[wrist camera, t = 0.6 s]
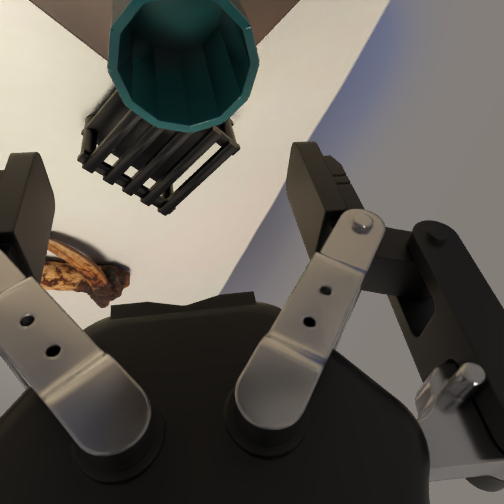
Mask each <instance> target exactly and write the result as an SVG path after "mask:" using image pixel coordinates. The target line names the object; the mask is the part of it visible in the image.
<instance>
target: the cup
mask: <svg viewBox="0 0 504 504" xmlns="http://www.w3.org/2000/svg"><path fill="white" fill-rule="evenodd" d="M258 67H259V57H258V53H257V48H256V44H255V39H254V34H253V30H252V26H251V24H250V21H249V19H248V17H247V15H246V13H245V11H244V9H243V6H242V4H241V2H240V0H113V5H112V15H111V24H110V35H109V50H108V64H107V69H108V73H109V75H110V77H111V79H112V81H113V83H114V85H115V87H116V89H117V91H118V93H119V95H120V97H121V99H122V101H123V103H124V104H126V107H128V108H129V109H131V110H132V111H133V112H135V113H136V114H137V115H139V116H140V117H142V118H143V119H144V120H146V121H147V122H149V123H150V124H151V125H153V126H154V127H155V126H156V127H157V128H162V129H168V130H174V131H180V132H186V133H190V131H191V133H193V132H196V131H200V130H203V129H206V128H210V127H213V126H216V125H219V124H222V123H223V122H225V121H226V120H227V119H229V118H230V117H231V116H232V115H233V114H234V113H235V112H236V111H237V110H238V109H239V108H240V107H241V106H242V105H243V104H244V103H245V102H246V101H247V100H248V98H249V96H250V93H251V90H252V87H253V83H254V80H255V77H256V74H257V70H258Z"/></svg>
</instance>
